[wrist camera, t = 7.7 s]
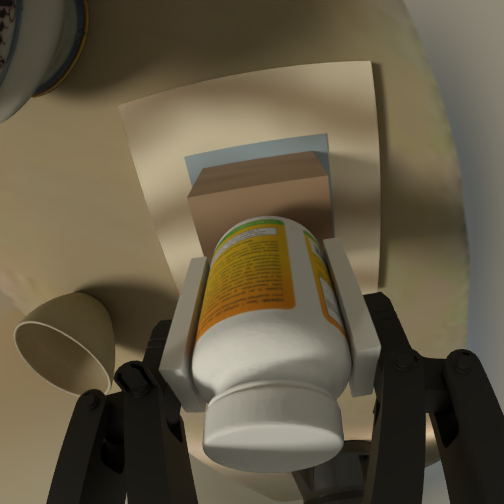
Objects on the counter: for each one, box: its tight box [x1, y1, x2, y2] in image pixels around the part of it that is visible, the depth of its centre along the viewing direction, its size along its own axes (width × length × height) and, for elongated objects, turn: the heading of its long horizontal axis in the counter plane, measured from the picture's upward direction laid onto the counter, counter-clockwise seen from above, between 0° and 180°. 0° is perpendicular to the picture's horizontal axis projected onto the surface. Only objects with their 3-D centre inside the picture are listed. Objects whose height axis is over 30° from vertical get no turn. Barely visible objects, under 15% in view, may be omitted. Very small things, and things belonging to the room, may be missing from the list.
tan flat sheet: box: [118, 61, 381, 295], centre depth 22 cm, size 18×16×1 cm
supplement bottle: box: [191, 216, 352, 473], centre depth 12 cm, size 5×5×10 cm
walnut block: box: [187, 151, 333, 266], centre depth 19 cm, size 7×7×5 cm
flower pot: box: [14, 293, 115, 397], centre depth 25 cm, size 10×10×7 cm
